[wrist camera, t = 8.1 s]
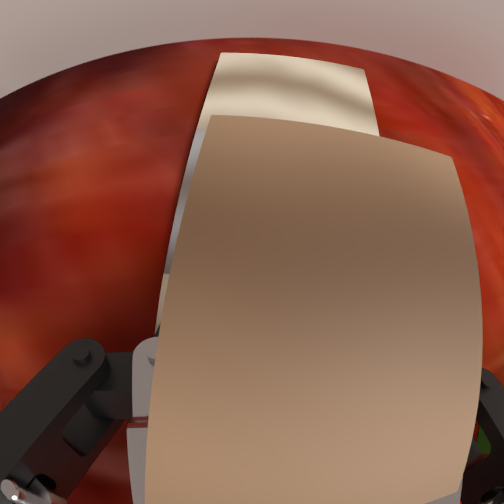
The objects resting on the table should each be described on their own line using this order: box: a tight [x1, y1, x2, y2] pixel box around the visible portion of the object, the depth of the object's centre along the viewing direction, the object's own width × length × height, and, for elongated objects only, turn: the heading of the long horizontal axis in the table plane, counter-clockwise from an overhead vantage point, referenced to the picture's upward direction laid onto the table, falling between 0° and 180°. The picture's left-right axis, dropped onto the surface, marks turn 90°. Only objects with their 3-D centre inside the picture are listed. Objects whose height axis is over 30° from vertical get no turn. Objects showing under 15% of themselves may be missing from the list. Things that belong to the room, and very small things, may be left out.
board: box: [155, 53, 379, 333], centre depth 17 cm, size 30×13×1 cm, turn 174°
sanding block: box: [145, 115, 483, 504], centre depth 8 cm, size 8×5×11 cm, turn 173°
